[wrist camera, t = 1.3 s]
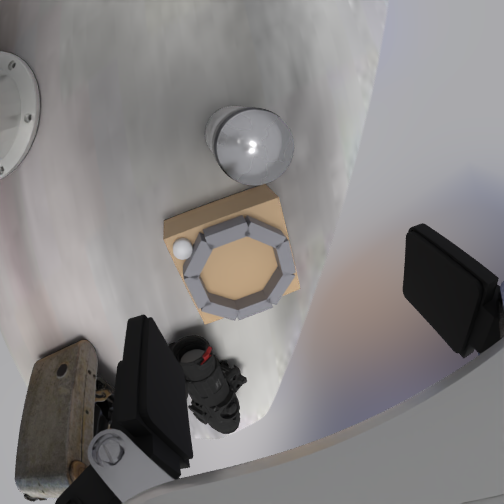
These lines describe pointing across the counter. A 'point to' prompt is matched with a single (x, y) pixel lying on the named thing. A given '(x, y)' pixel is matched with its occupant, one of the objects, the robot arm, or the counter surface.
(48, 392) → the vintage camera
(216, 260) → the mount
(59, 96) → the counter surface
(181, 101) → the counter surface
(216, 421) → the night vision scope
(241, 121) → the lens
